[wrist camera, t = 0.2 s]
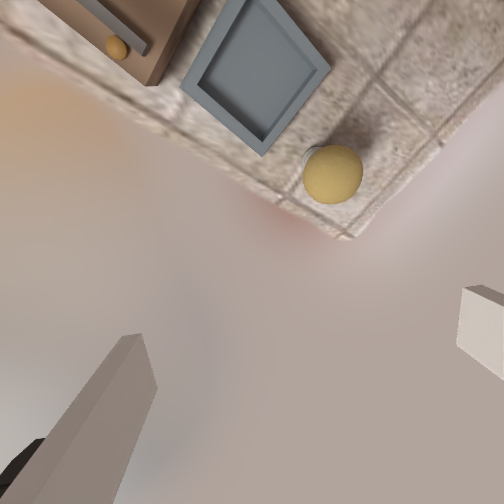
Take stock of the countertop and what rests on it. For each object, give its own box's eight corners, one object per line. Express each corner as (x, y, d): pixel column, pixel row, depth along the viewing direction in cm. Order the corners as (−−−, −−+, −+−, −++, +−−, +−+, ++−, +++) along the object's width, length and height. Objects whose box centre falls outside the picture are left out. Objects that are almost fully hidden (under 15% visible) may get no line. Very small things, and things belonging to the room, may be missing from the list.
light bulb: (342, 136, 32) (383, 153, 24) (330, 184, 36) (361, 214, 27) (294, 132, 31) (319, 149, 23) (287, 182, 35) (306, 212, 27)
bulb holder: (246, -34, 23) (248, -46, 21) (329, 68, 28) (338, 67, 26) (180, 87, 28) (176, 87, 26) (261, 156, 33) (263, 161, 30)
